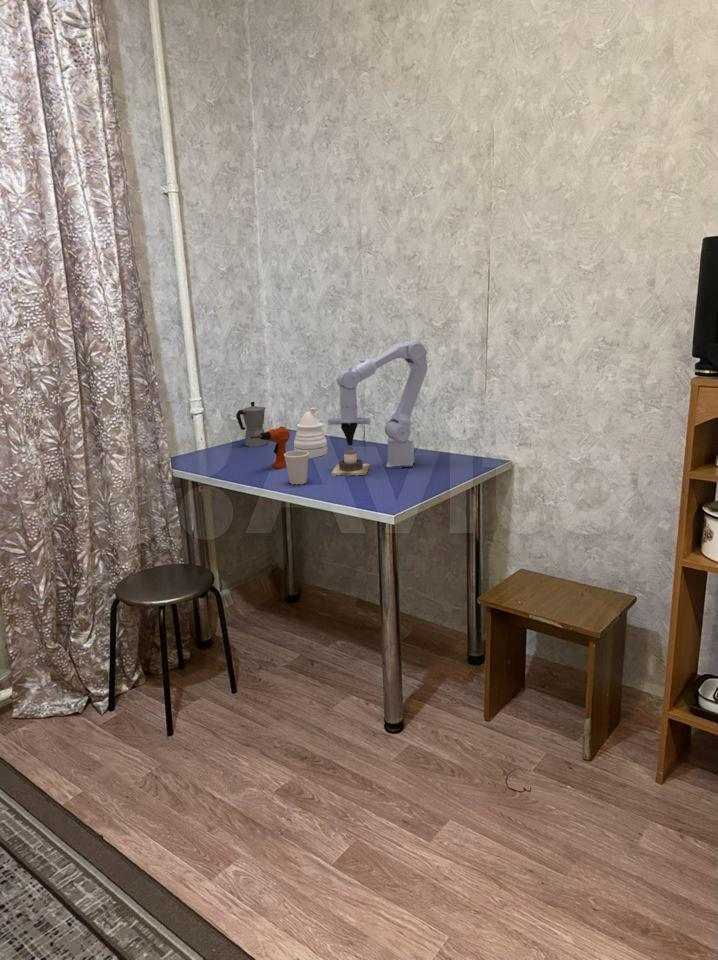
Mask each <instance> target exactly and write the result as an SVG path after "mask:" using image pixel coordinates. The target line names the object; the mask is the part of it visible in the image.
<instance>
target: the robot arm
mask: <svg viewBox="0 0 718 960" xmlns="http://www.w3.org/2000/svg"><path fill="white" fill-rule="evenodd" d="M427 354H428V351H427V348H426V347H425V345H424V344H423V343H422V342H421V341H414V340H411V339H404V340H402V341H401V342H398V343H396V344H395V345H394V346H393V345H392V347H390V348H388V349H387V350H385V351H383V352H382V353H381V354H379V355H378V356H376V357H374V358H373V359H369V358H365V359H364V358H362V359H360V360H359V361H360V362H359V363H357V364H354V365H353V366H349V367H348V370H347V369H346V370H345V369H343V370H342V371H340V372H339V373H338V375H337V377H336V383H337V385H338V386H339V405H340V406H339V408H340V417H334V418H333V417H330V418H329V417H328V419H327V425H328V426H331V425H340V428H341V430H342V432H343V434H344V436H345V439H346V442H347V446H353V442H354V436H355V433H356V431H357V430H356V429H357V428H358V425H371V417H358V402H357V401H358V400H357V387H358V385H359V383H361V382H362V381H364V380H366V379H368V378H369V377H371V376H373V375H376V372H377V369H378V368H380V367H382V366H384V365H386V364H388V363H390V362H392V361H393V360H396V359H404V360H405V362H406V363H407V364H408V367H409V368H410V372H409V373H408V377H407V379H406V382H405V386H404V388H403V390H402V391H403V392H402V393H401V396H400V399H399V402H398V405H397V408H396V410H395V412H394V413H393V414H392V415H391V417H390V419H389V421H388V422H386V424H385V425H384V432H385V434H386V436H387V462H386V466H385V467H386V468H393V467H392V466H400V465H413V463H414V464H415V460H416V459H415V448H414V446H415V445H414V440H409V438H410V437H411V426H412V420H411V416H412V413H413V410H414V407H415V405H416V402H417V399H418V396H419V393H420V392H421V388H422V385H423V382H424V380H425V377H426V374H427V372H428V360H427ZM413 466H414V465H413Z"/></svg>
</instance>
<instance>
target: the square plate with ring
mask: <svg viewBox="0 0 718 960" xmlns="http://www.w3.org/2000/svg"><path fill="white" fill-rule="evenodd" d="M334 466H335V467H333V469H332V471H331V472H330V473H331V476H333V477H334V476H335V477H336V475H338V476H339V475H343V476H344V477H347V476H350V475H356V476H355V477H357V476H358V475H366V474H367V475H368V473H367V472H369V470H368V469H370V468H369V467H371V464H370V463H363V460H362V459H360V458H357V463H352V464H347V463H344V458H343V459H341V460H339V461H338V463H336V465H334ZM367 475H366V476H367ZM338 476H337V477H338ZM343 476H342V477H343ZM339 477H340V476H339ZM350 477H351V476H350Z"/></svg>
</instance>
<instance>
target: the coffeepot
mask: <svg viewBox="0 0 718 960" xmlns="http://www.w3.org/2000/svg"><path fill="white" fill-rule="evenodd" d="M255 403H256V402H255V401H251V402H250V405H251V406H248V407H244V408H243V409H239V410H238V411H237V412H236V414H235V415H236V416H235V418H236V419H237V423H238V425H239V427H240V430H241V431H245V436H244V446H245V445H246V446H245V447H247V446H249V447H248V448H258V447H257V446H261V447H264V446H266V445H267V444H268V442H267V441H268V440H262V439H260V438H253V439H251V438H250V437H251V436H256V435H260V434H261V433H264V432H265V430H264V428H263V427H264V424H265V423H264V422H265V412H266V409H267V407H264V406H257V405H255ZM241 416H242V417H243V420H242V418H241ZM243 422H244V424H243ZM244 425H245V427H244ZM265 444H266V445H265ZM263 445H264V446H263Z"/></svg>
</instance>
